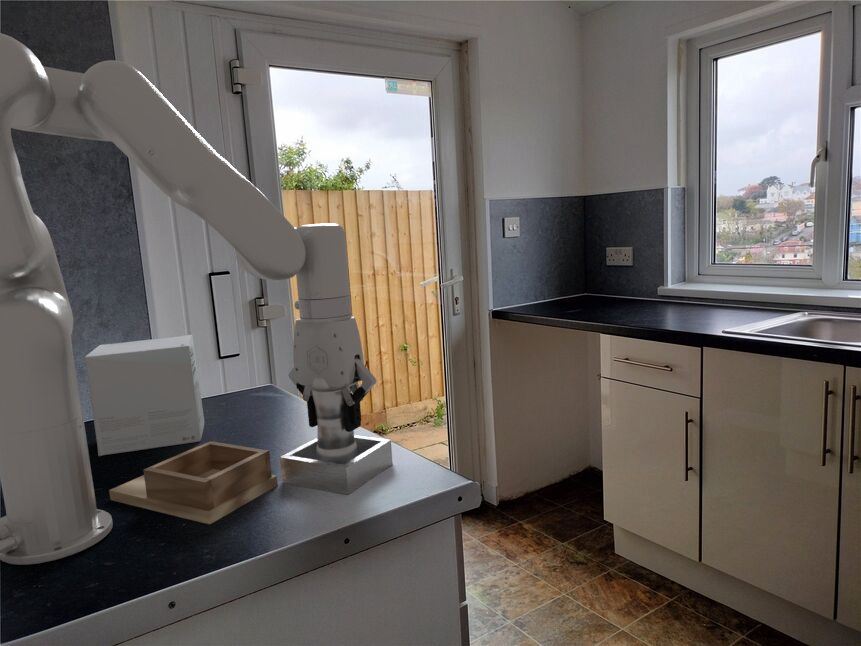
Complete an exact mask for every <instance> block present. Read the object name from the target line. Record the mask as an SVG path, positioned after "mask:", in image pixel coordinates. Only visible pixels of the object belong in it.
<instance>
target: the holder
mask: <svg viewBox="0 0 861 646" xmlns="http://www.w3.org/2000/svg"><path fill="white" fill-rule="evenodd" d="M354 437H355V441H356V444H357V448H358V453H359V456H357V457H356V458H354V459H353V460H351V461H349V462H348V463H346V464H338V463H332V462H325V461H319V460H316V450H317V437H316V438H314V439H312V440H310V441H308V442H305V443H304V444H302V445H300V446H298V447H297V448H295V449H292V450H291V451H288V452H287V453H285V454H283V455H281V456H279V463H280V474H281V475H280V476H281V483H282V484H287V485H293V486H298V487H303V488H308V489H314V490H319V491H322V492H323V491H324V492H331V493H335V494H340V495H346V496H350V495H351V494H352V493H353V492H355V491H356V490H358V489H359V488H361V487H362V486H364V485H365V484H366V483H368V482H369V481H371V480H372V479H374V478H375V477H377V476H378V475H379V474H381V473H382V472H384V471H385V470H386V469H388V468H389V467H391V466H392V465H394V464H393V452H392V451H393V450H392V440H391V439H387V438H386V439H385V438H380V437H373V436H363V435H358V434H357V435H356V434H354Z"/></svg>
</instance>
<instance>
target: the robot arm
mask: <svg viewBox="0 0 861 646" xmlns="http://www.w3.org/2000/svg"><path fill="white" fill-rule="evenodd" d="M12 129H15V130H19V131H24V132H25V131H26V132H31V133H40V134H44V135H45V134H46V135H54V136H60V137H61V136H62V137H69V138H76V139H83V140H91V141H92V140H93V141H102V142H112V143H113V144H114V146H116V147H117V148H118V149H119V150H120V151H121V152H122V153H123V154H124V155H125V156H126V157H127V158H128V159H129V160H130V161H131V162H133V164H134V165H136V167H137V168H138V169H140V171H142V173H143V174H144V175H145V176H147V178H149V180H150V181H151V182H152V183H153V184H155V186H156V187H157V188H158V189H159V190H160V191H162V193H163V194H165V195H166V196H167V197H168V198H169V199H171V200H172V201H173V202H174V203H175V204H178V205H179V206H181V207H182V208H184V209H187V210H188V211H190V212H192V213H193V214H195V215H196V216H198V217H199V218H200V219H202V220H203V221H204V222H205V223H207V224H208V226H210V227H211V228H213V229H214V230H215V231H216V232H217V233H218V234H219V235H221V237H223V239H224V240H225V241H226V242H227V243H228V244H229V245H231V246H232V248H234V251H235V253H234V254H235V258H236V261H237V264H238V265H239V267H240V268H241V269H242V270H243V271H244V272H245V273H246V274H249V275H250V276H252V277H255V278H257V279H260V280H261V279H262V280H266V281H271V282H283V281H288V280H290V279H293V277H295V276H296V277H295V278H296V287H297V298H298V300H296V301H295V302H294V308H295V310H298V311H299V318H296V319H295V324H294V331H293V340H292V341H293V342H292V343H293V346H292V347H293V349H292V351H293V367H292V369H291V370H290V371H289V373H288V375H287V376H288V378H289V379H290V381H291V382H292V383H293V384H294V385H295V386H296V389H297V390H298V391H299V392H300V393H301V394H302V400H303V401H304V402H306V408H307V418H308V426H309V428H314V427H316V426H317V427H318V425H317V416H316V409H315V404H314V399H313V395H312V390H311V386H312V382H313V381H314V379H315V378H322V379H324V380H325V381H326V383H327V385H328V387H331V388H336V389H341V391H342V393H343V396H344V398H345V401H346V403H347V405H345V406H344V408H343V409H344V421H345V430H346V431H347V432H351V431H353V430H354V431H355V430H356V429H358V428H359V427H361V425H362V423H361V422H362V409H361V402H362V401H363V400H364V398H365V397H366V396H367V394H368V393H369V392H370V390H372V388H374V386H375V385H376V384H377V378H376V377H375V376H374V375H373V373H372V372H371V371H370V370H369V369H368V368H367V366H365V363H364V353H363V346H362V340H361V335H360V330H359V327H358V323H357V320H356V317H355V316H352V302H351V292H350V291H351V290H350V289H351V287H350V275H349V263H348V261H349V260H348V251H347V249H348V248H347V238H346V231H345V229H344V227H343V226H342V225H340V224H338V223H314V224H313V223H311V224H303V225H299V226H297V227H294V226H293V224H291V222H290V221H289V220H288V219H287V218H286V217H285V216H284V215H283V213H282V212H280V210H279V209H278V208H277V207H276V206H275V205H274V204H273V203H272V201H270V199H268V198H267V197H266V196H265V194H263V192H261V191H260V190H259V189H258V188H257V187H256V186H255V185H254V184H253V183H252V182H251V181H249V180H248V179H247V178H246V177H245V176H244V175H242V174H241V173H240V172H239V171H238V170H237V169H236V168H235V167H233V165H231V163H230V162H228V160H226V159H225V158H224V157H222V156H221V155H220V154H219V153H218V152H217V151H216V150H215V149H214V148H213V147H212V146H211V145H210V143H208V142H207V141H206V140H205V138H203V137H202V136H201V135H200V133H198V131H196V130H195V129H194V127H193V126H192V125H191V124H190V123H189V122H188V121H187V120H186V118H184V117H183V116H182V115H181V114H180V112H179V111H178V110H177V109H176V108H175V107H174V106H173V105H172V104H171V103H170V102H169V101H168V99H167V98H166V97H164V95H163V94H162V93H161V92H160V91H159V90H158V89H157V88H156V87H155V85H154V84H152V82H151V81H150V80H148V79H147V77H146V76H145V75H143V73H141V71H139V70H138V69H137V68H135V67H134V66H133V65H130V64H129V63H127V62H124V61H121V60H116V59H115V60H114V59H109V60H102V61H100V62H98V63H95V64H93V65H92V66H90V67H89V68H87V70H86V71H85V72H84V73H83V72H78V71H71V70H64V69H59V68H54V67H48V66H44V65H42V62H41V61H40V60H39V59H38V57H37V56H36V55H35V54H34V52H33V51H32V50H31V49H30V48H28V47H27V46H26V45H25V44H24V43H22V42H20V41H19V40H17V39H16V38H14V37H12V36H10V35H8V34H6V33H5V34H4V33H2V32H0V485H1V490H2V497H3V501H4V508H5V513H6V515H4V516H2V517H0V561H2V562H4V563H7V564H10V565H18V566H19V565H20V566H22V565H25V566H26V565H36V564H43V563H47V562H49V563H50V562H52V561H56V560H60V559H63V558H64V559H65V558H66V557H70V556H73V555H74V554H78V553H79V552H82V551H84V550H85V551H86V550H87V549H88V548H90V547H92V546H94V545H95V544H97V543H99V542H100V541H102V540H103V539H104V538H105V537H107V535H109V533H110V532H111V531H112V528H113V527H114V526H113V525H114V524H113V523H114V522H113V518H112V514H110V513H109V512H107V511H106V510H103V509H98V508H97V501H96V496H95V495H96V494H95V488H94V481H93V475H92V468H91V461H90V453H89V447H88V441H87V434H86V427H85V421H84V414H83V408H82V407H83V406H82V401H81V395H80V393H81V392H80V389H79V383H78V376H77V370H76V364H75V359H74V352H73V351H74V350H73V343H72V334H73V331H74V315H73V311H72V307H71V304H70V300H69V297H68V293H67V290H66V285H65V281H64V278H63V275H62V271H61V268H60V265H59V261H58V257H57V254H56V250H55V246H54V244H53V239H52V238H51V235H50V232H49V230H48V227H47V226H46V224H45V223H44V222H43V221H42V219H41V218H40V217H39V216H38V215H36V213H34V211H33V207H32V206H31V205H32V204H31V202H30V199H29V196H28V193H27V189H26V186H25V183H24V179H23V175H22V171H21V165H20V163H19V158H18V155H17V153H16V149H15V146H14V142H13V138H12ZM359 382H361V384H360V385H359ZM350 387H351V390H352V392H351V390H350Z"/></svg>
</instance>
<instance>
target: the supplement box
mask: <svg viewBox="0 0 861 646" xmlns="http://www.w3.org/2000/svg"><path fill="white" fill-rule="evenodd" d="M193 337H194V336H193V334H187V335H181V336H180V335H179V336H172V337H164V338H163V337H162V338H154V339H153V338H152V339H144V340H143V339H142V340H135V341H134V340H133V341H126V342H119V343H118V342H117V343H108V344H107V343H105V344H100V345H98V346H97V347H96V348H94V349H93V350H92V351H90V352H89V353H88V354H87V355H85V356H84V363H85V369H86V376H87V381H88V382H87V383H88V389H89V396H90V404H91V409H92V417H93V422H94V423H93V424H94V425H93V426H94V430H95V436H96V437H95V440H96V445H97V446H96V447H97V454H98V455H97V456H98V457H101V456H106V455H114V454H120V453H122V454H123V453H127V452H135V451H140V450H149V449H156V448H162V447H169V446H177V445H184V444H191V443H197V442H201V441H202V436H203V433H204V429H205V428H204V427H205V417H204V416H205V415H204V409H203V403H202V397H201V396H202V394H201V388H200V381H199V380H200V379H199V372H198V366H197V357H196V349H195V343H194V338H193Z"/></svg>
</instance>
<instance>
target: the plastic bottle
mask: <svg viewBox="0 0 861 646" xmlns="http://www.w3.org/2000/svg"><path fill="white" fill-rule="evenodd" d="M311 390H312V395H313V399H314V404H315V409H316V416H317V431H316V432H317V434H316V435H317V437H316V438H317V450H316V460H319V461H325V462H332V463H338V464H346V463H348V462H349V461H351V460H353V459H354V458H356V457H357V456H359V453H358V448H357V444H356V441H355V437H354V435H355V433H354V431H355V430H353V431H351V432H347V431H346V430H345V421H344V409H343V408H344V406H345V405H347V403H346V401H345V398H344V396H343V393H342V391H341V389H336V388H331V387H328V385H327V383H326V381H325V380H324V379H322V378H315V379H314V381H313V382H312V386H311ZM350 390H351V387H350ZM351 392H352V390H351ZM352 393H353V392H352Z"/></svg>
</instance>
